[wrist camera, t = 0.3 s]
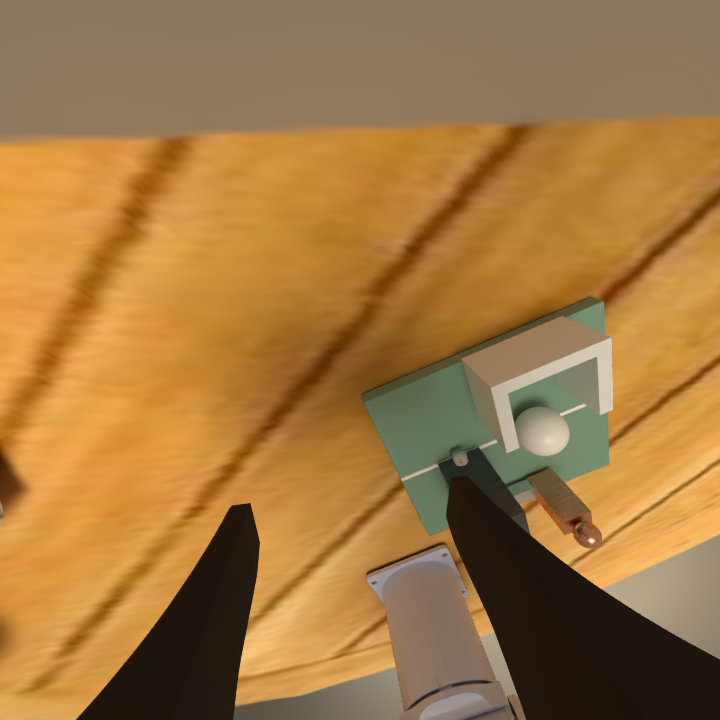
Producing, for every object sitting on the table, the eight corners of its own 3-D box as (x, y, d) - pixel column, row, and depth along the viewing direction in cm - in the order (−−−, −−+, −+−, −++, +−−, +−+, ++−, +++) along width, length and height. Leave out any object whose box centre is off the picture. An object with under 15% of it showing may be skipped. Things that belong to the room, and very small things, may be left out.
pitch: (599, 455, 27) (610, 465, 26) (425, 525, 28) (429, 537, 27) (590, 297, 20) (605, 301, 19) (361, 394, 21) (364, 403, 20)
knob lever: (554, 491, 26) (612, 558, 21) (462, 527, 27) (498, 602, 22) (541, 413, 22) (609, 473, 17) (434, 457, 23) (470, 528, 18)
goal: (568, 379, 22) (613, 409, 19) (478, 417, 22) (506, 453, 19) (561, 315, 20) (611, 337, 16) (461, 358, 20) (490, 387, 17)
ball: (550, 424, 23) (583, 454, 20) (509, 441, 23) (536, 473, 21) (544, 390, 22) (580, 418, 19) (501, 409, 22) (529, 438, 19)
